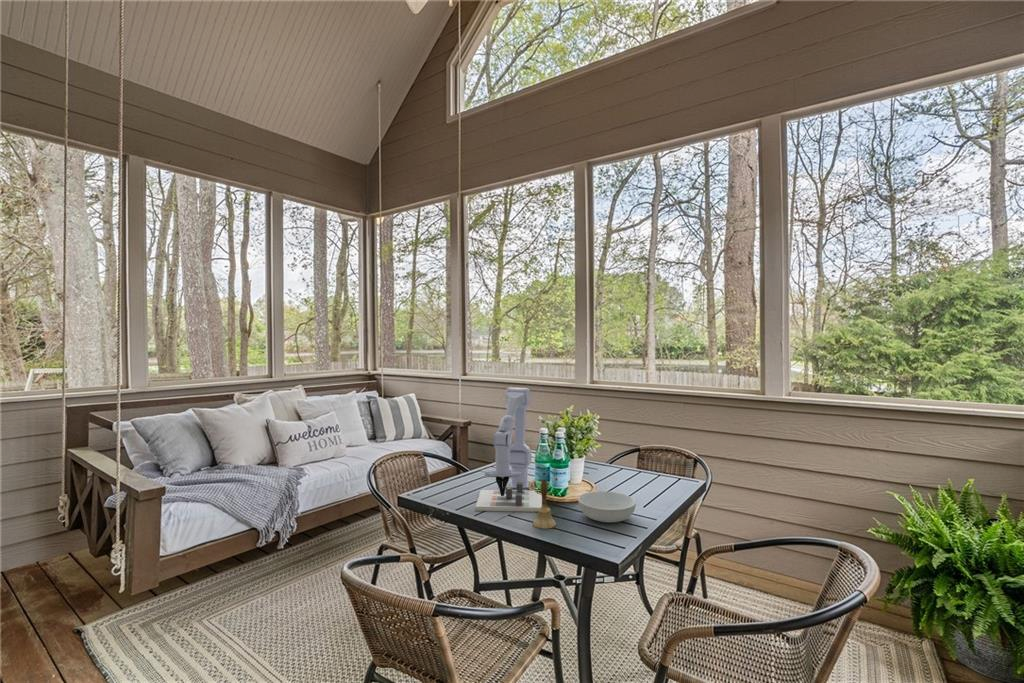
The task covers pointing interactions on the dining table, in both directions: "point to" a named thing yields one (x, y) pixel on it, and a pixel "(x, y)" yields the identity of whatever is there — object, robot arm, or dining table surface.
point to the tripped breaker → (508, 492)
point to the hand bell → (544, 511)
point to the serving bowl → (606, 506)
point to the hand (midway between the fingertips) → (502, 495)
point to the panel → (509, 500)
